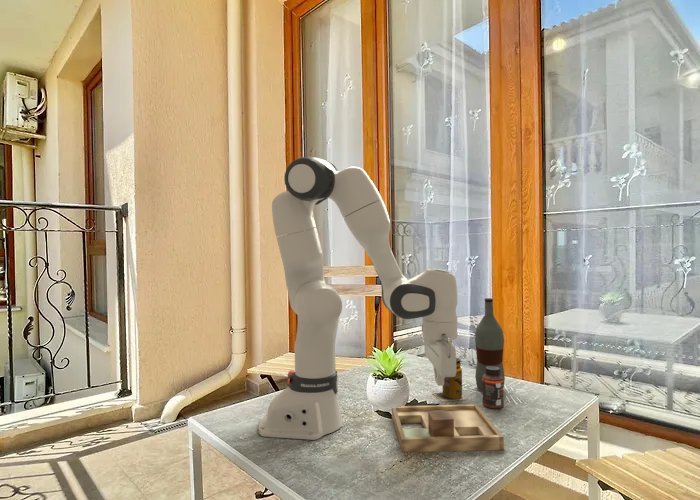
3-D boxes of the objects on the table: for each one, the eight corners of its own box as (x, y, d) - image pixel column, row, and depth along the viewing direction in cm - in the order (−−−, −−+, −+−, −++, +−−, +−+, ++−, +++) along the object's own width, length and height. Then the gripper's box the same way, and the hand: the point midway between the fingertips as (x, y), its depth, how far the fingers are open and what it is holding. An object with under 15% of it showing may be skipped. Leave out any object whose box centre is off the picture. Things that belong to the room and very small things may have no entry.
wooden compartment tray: (401, 452, 98) (401, 439, 98) (391, 417, 118) (391, 406, 118) (503, 449, 98) (503, 436, 98) (476, 414, 118) (476, 404, 118)
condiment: (467, 399, 130) (466, 361, 130) (442, 402, 128) (441, 363, 128) (456, 391, 137) (455, 355, 137) (432, 394, 135) (431, 357, 135)
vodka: (510, 389, 138) (509, 298, 138) (495, 396, 132) (494, 301, 132) (484, 382, 145) (483, 296, 145) (469, 388, 139) (468, 298, 139)
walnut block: (433, 440, 99) (432, 419, 99) (428, 431, 104) (428, 411, 104) (454, 440, 99) (453, 419, 99) (448, 430, 104) (448, 410, 104)
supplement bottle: (505, 410, 121) (504, 371, 121) (483, 408, 123) (483, 370, 122) (502, 402, 127) (501, 365, 127) (481, 401, 128) (481, 364, 128)
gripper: (463, 339, 98) (463, 398, 98) (442, 323, 119) (442, 372, 119) (436, 339, 98) (436, 398, 98) (420, 323, 119) (420, 372, 119)
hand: (439, 383), depth 109 cm, fingers closed
